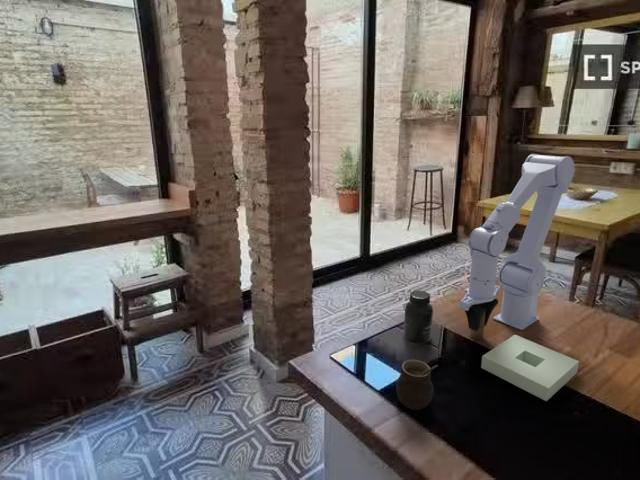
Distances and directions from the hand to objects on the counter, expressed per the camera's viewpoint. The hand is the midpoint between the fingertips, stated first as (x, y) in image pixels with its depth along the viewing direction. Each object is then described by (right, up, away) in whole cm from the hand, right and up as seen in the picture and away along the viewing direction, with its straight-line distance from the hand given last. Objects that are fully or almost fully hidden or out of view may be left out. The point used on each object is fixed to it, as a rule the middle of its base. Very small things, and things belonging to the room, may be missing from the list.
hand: (477, 326), depth 100 cm
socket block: (+6, -7, -13) cm, 16 cm away
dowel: (0, -2, +1) cm, 3 cm away
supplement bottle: (-15, -3, +1) cm, 15 cm away
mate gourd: (-21, -10, -21) cm, 32 cm away
